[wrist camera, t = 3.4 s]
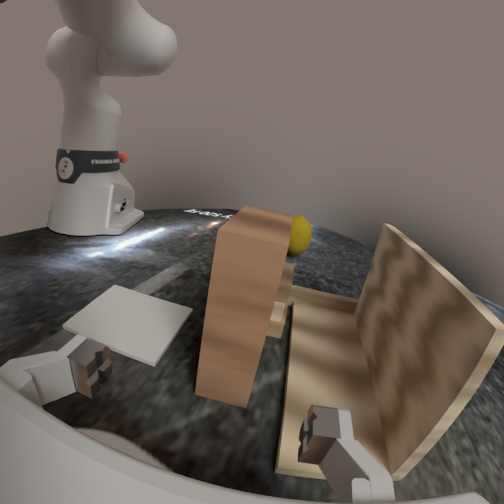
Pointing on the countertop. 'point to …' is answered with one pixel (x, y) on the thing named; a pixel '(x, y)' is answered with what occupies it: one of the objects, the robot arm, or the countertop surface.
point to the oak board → (241, 302)
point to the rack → (387, 357)
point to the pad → (130, 323)
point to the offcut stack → (281, 302)
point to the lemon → (299, 236)
